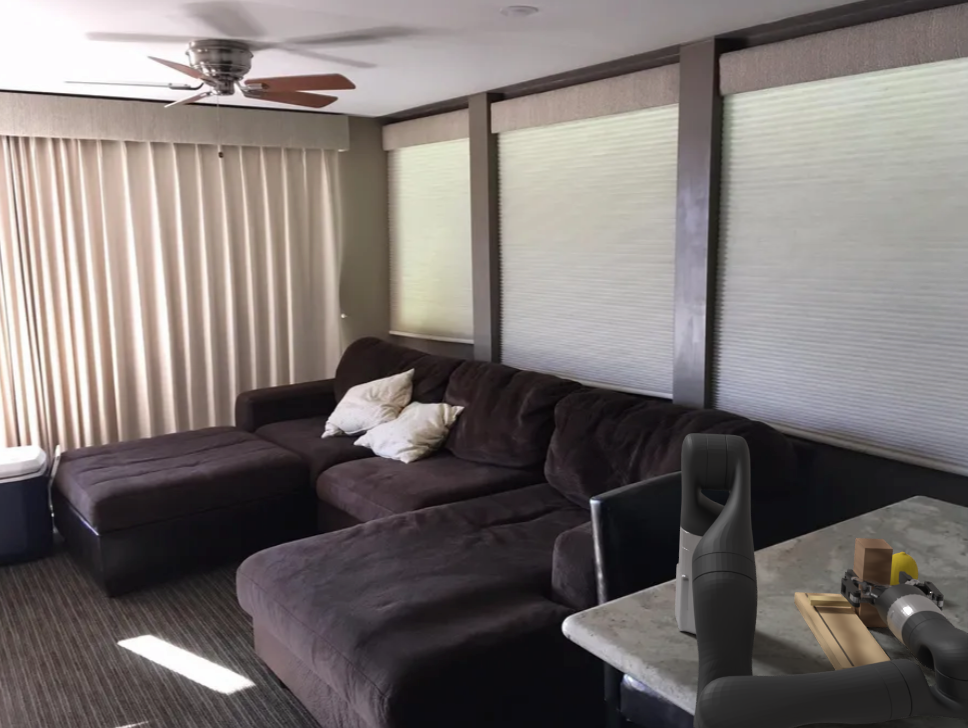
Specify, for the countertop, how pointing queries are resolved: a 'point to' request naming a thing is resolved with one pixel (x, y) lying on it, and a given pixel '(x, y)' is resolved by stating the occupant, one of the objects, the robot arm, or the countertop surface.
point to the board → (840, 633)
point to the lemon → (903, 567)
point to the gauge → (865, 578)
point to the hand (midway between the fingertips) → (875, 575)
